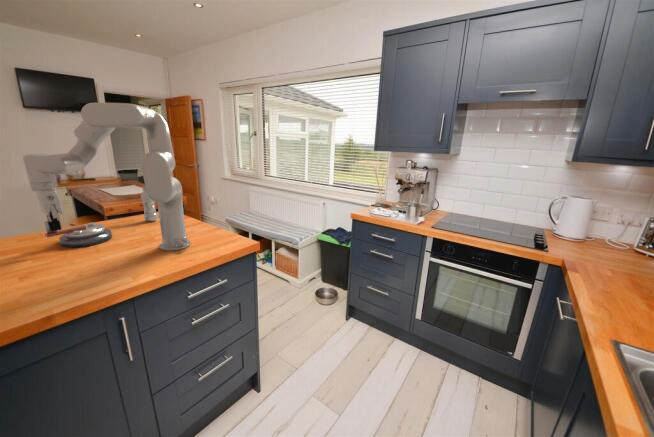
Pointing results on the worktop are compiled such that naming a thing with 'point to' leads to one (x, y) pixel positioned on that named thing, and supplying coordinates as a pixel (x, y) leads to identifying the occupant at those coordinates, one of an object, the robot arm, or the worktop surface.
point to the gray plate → (85, 240)
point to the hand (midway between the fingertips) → (55, 230)
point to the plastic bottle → (148, 207)
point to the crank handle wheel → (78, 231)
